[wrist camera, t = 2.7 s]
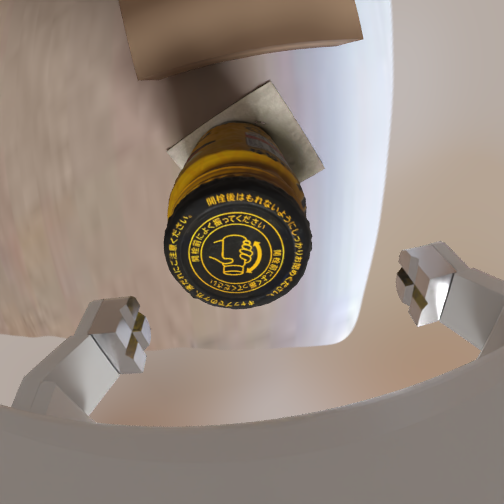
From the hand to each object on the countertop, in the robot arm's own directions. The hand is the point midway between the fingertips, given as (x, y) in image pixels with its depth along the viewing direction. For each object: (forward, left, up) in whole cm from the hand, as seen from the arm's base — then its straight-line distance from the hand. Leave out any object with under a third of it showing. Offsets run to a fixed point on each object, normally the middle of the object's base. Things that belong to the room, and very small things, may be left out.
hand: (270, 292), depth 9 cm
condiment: (0, 0, -14) cm, 14 cm away
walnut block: (-13, +1, -14) cm, 19 cm away
